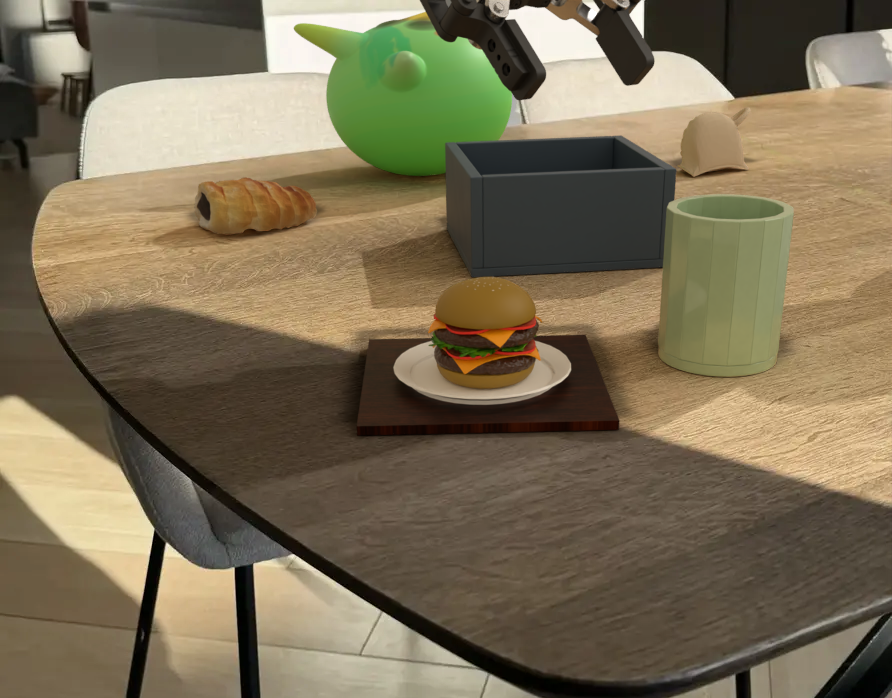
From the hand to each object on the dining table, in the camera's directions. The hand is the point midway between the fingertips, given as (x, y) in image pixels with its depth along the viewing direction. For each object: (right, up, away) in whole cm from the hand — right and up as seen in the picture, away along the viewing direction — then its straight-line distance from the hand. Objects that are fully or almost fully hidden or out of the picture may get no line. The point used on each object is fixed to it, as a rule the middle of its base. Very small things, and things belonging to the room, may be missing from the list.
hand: (590, 82), depth 61 cm
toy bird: (-11, +6, +45) cm, 47 cm away
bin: (0, -5, +20) cm, 21 cm away
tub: (+7, -15, -1) cm, 17 cm away
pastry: (-23, -3, +28) cm, 36 cm away
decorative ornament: (+18, +6, +45) cm, 48 cm away
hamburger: (-6, -17, -5) cm, 19 cm away
